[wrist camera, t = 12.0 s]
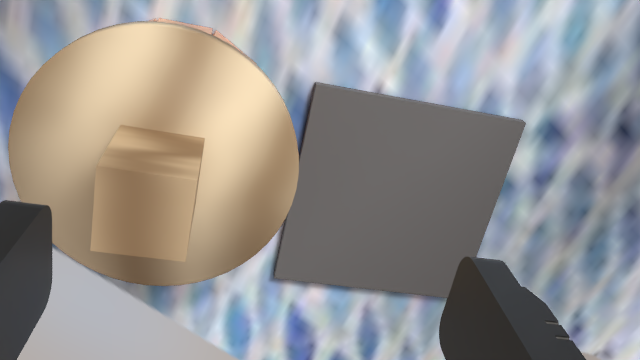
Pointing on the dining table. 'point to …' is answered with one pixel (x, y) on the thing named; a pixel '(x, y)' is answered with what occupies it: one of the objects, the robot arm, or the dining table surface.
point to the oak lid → (155, 153)
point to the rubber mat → (392, 191)
